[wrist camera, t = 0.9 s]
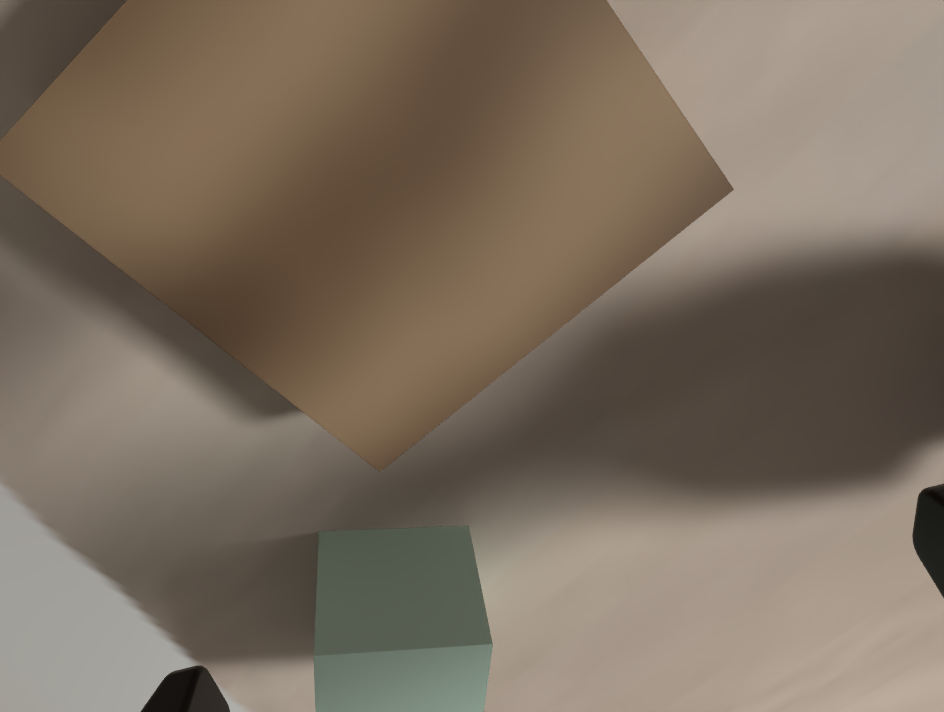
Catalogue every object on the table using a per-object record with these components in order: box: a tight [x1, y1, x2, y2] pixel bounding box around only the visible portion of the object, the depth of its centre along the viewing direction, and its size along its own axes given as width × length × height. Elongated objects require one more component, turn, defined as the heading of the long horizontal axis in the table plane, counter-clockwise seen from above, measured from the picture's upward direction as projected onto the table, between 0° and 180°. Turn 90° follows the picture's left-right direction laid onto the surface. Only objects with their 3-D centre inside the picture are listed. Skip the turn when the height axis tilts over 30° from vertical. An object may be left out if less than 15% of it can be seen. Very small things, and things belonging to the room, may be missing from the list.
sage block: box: [314, 526, 493, 712], centre depth 25 cm, size 5×5×5 cm
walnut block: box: [0, 0, 734, 472], centre depth 18 cm, size 11×11×4 cm
